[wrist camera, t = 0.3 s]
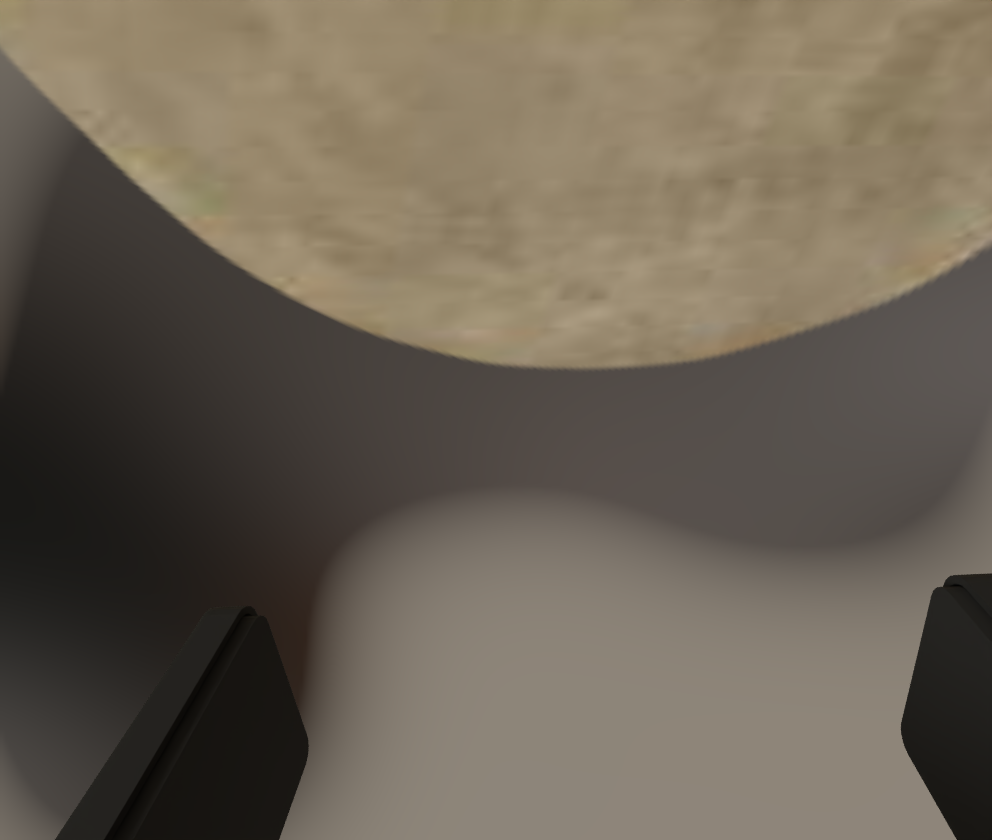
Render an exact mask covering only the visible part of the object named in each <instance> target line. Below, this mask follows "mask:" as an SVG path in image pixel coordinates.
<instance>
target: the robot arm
mask: <svg viewBox="0 0 992 840" xmlns="http://www.w3.org/2000/svg"><path fill="white" fill-rule="evenodd" d="M901 735H902V739H903V743H904V746H905V748H906V751H907V753H908V755H909V757H910V758H911V760H912V762H913V764H914V765H915V767H916V769H917V771H918V772H919V774H920V776H921V778H922V779H923V781H924V783H925V785H926V786H927V788H928V790H929V792H930V794H931V795H932V797H933V799H934V800H935V802H936V804H937V806H938V808H939V809H940V811H941V813H942V814H943V816H944V818H945V820H946V821H947V823H948V825H949V827H950V829H951V830H952V832H953V834H954V836H955V837H956V839H957V840H992V574H971V575H953V576H950V577H948V578H947V579H946V581H945V583H944V585H943V587H937V588H936V589H935V590H934V591H933V593H932V596H931V600H930V604H929V608H928V612H927V617H926V621H925V625H924V629H923V634H922V638H921V642H920V647H919V650H918V655H917V659H916V663H915V667H914V671H913V676H912V680H911V684H910V688H909V693H908V697H907V701H906V705H905V709H904V714H903V718H902V722H901ZM308 747H309V746H308V737H307V734H306V731H305V728H304V725H303V722H302V719H301V716H300V713H299V710H298V708H297V705H296V702H295V699H294V696H293V693H292V690H291V687H290V684H289V682H288V679H287V676H286V673H285V670H284V667H283V664H282V661H281V658H280V655H279V652H278V650H277V647H276V644H275V641H274V638H273V635H272V632H271V629H270V626H269V623H268V621H267V619H266V618H265V617H264V616H258V615H257V613H256V611H255V609H254V608H252V607H251V606H237V607H214V608H211V609H209V610H208V611H207V612H206V613H205V614H204V615H203V617H202V618H201V620H200V621H199V623H198V624H197V626H196V627H195V629H194V630H193V632H192V633H191V635H190V637H189V638H188V640H187V641H186V643H185V644H184V646H183V647H182V649H181V650H180V652H179V653H178V655H177V656H176V658H175V659H174V661H173V662H172V664H171V665H170V667H169V668H168V670H167V671H166V673H165V674H164V676H163V677H162V679H161V680H160V682H159V683H158V685H157V686H156V688H155V689H154V691H153V693H152V694H151V695H150V697H149V698H148V700H147V702H146V703H145V705H144V706H143V708H142V709H141V711H140V712H139V714H138V715H137V717H136V718H135V720H134V721H133V723H132V724H131V726H130V727H129V729H128V730H127V732H126V733H125V735H124V737H123V738H122V739H121V741H120V742H119V744H118V745H117V747H116V748H115V750H114V752H113V753H112V754H111V756H110V757H109V759H108V760H107V762H106V763H105V765H104V767H103V768H102V769H101V771H100V773H99V774H98V776H97V777H96V779H95V780H94V782H93V783H92V785H91V786H90V788H89V789H88V791H87V792H86V794H85V795H84V797H83V798H82V800H81V802H80V803H79V804H78V806H77V807H76V809H75V810H74V812H73V813H72V815H71V816H70V818H69V819H68V821H67V822H66V824H65V825H64V827H63V829H62V830H61V831H60V833H59V834H58V836H57V838H56V839H55V840H279V838H280V835H281V832H282V830H283V827H284V824H285V821H286V819H287V816H288V813H289V810H290V807H291V804H292V802H293V799H294V796H295V793H296V790H297V788H298V785H299V782H300V779H301V776H302V774H303V770H304V768H305V765H306V761H307V757H308Z"/></svg>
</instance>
